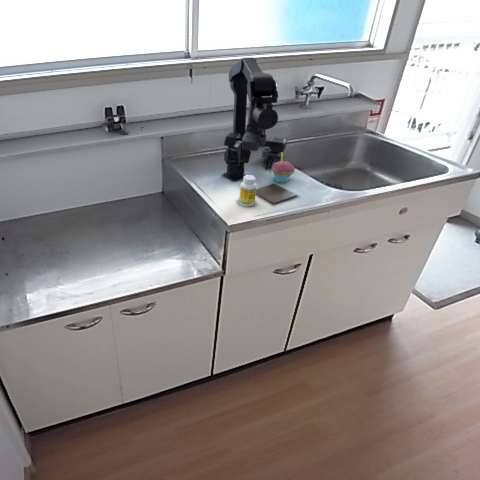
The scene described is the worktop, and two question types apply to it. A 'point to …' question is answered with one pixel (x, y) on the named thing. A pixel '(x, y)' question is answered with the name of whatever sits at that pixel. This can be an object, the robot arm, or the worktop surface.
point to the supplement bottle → (248, 191)
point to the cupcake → (282, 170)
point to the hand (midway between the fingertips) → (251, 167)
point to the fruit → (275, 158)
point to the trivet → (274, 193)
